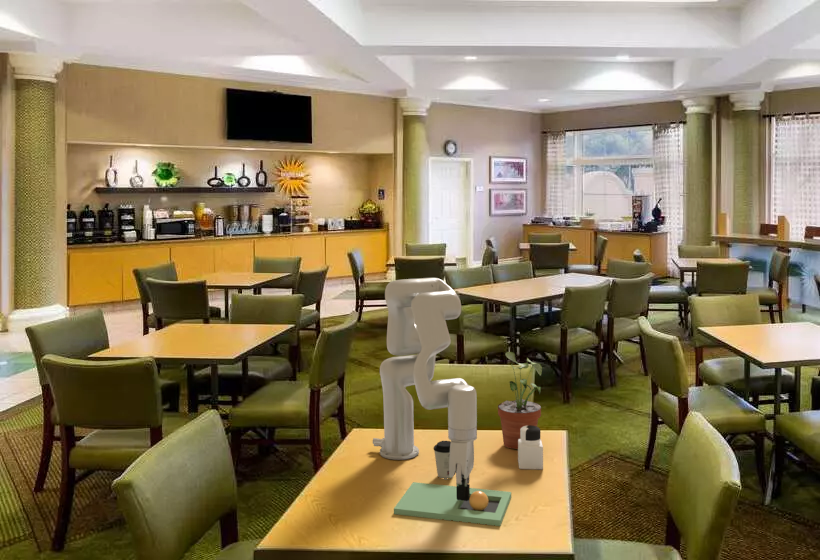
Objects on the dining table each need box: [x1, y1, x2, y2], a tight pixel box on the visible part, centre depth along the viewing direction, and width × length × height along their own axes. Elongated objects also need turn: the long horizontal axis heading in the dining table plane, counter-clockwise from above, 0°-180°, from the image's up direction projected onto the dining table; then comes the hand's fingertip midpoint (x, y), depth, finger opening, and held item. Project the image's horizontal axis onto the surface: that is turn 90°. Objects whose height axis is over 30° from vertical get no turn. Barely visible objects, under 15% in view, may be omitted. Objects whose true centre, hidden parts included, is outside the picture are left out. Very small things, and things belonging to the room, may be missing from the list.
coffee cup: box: [433, 440, 451, 480], centre depth 213 cm, size 7×7×10 cm
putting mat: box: [393, 481, 512, 527], centre depth 193 cm, size 28×18×2 cm, turn 73°
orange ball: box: [469, 491, 488, 511], centre depth 189 cm, size 5×5×5 cm
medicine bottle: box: [517, 425, 544, 470], centre depth 220 cm, size 7×7×12 cm
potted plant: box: [497, 351, 543, 450], centre depth 236 cm, size 16×15×35 cm
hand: (463, 499), depth 192 cm, fingers closed
